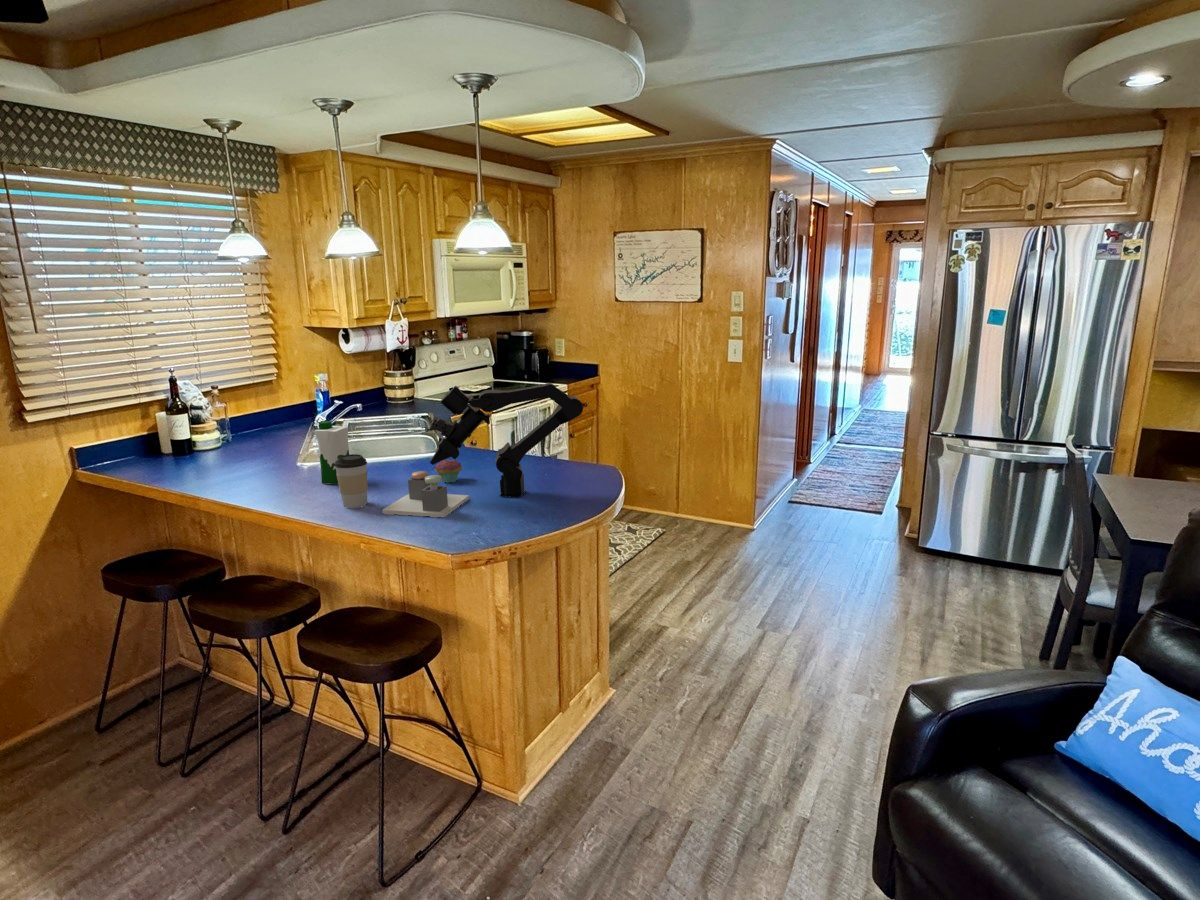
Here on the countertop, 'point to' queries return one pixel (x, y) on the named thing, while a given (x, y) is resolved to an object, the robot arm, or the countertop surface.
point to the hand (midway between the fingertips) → (431, 463)
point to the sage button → (433, 481)
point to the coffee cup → (352, 480)
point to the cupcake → (448, 470)
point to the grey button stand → (425, 501)
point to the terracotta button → (419, 475)
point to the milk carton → (331, 448)
